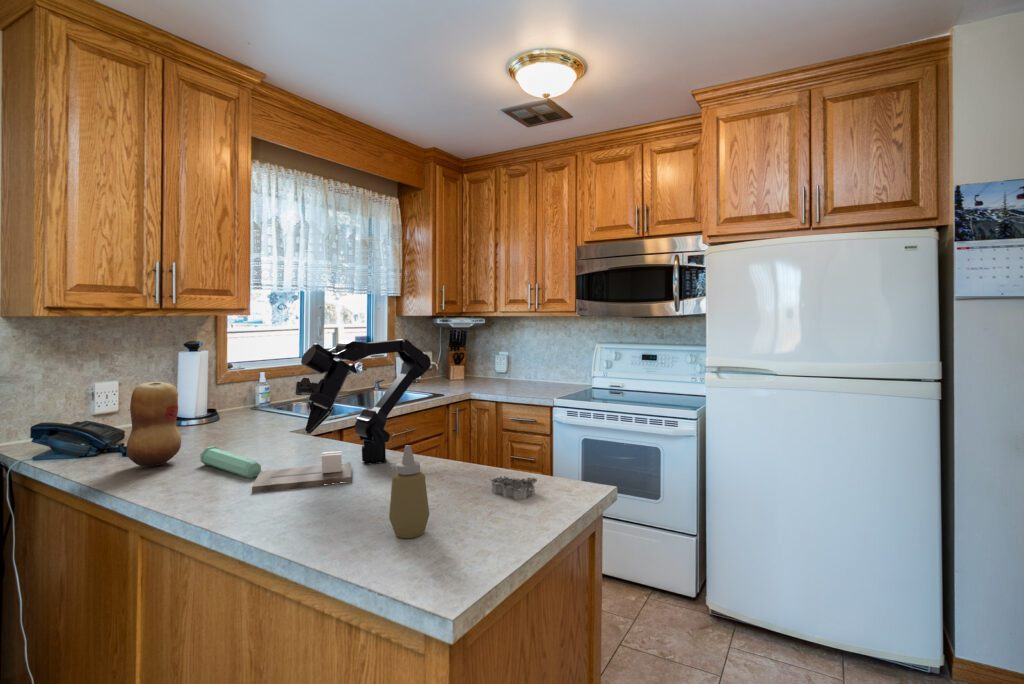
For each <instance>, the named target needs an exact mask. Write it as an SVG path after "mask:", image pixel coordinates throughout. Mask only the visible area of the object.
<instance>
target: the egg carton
mask: <svg viewBox="0 0 1024 684" xmlns="http://www.w3.org/2000/svg"><path fill="white" fill-rule="evenodd" d="M537 480H538V479H537V478H534V477H527V478H526V479H525V478H521V479H520V478H514V477H512V478H509V476H506V475H504V476H503V477H502V475H500V476H499V477H494V478H493V479H492V478H491V479H490V478H489V481H490V482H491V487H492V489H491V491H492V494H493V495H497V494H499V495H500V494H502V496H503V497H504V498H508V497H512V498H513V500H516V501H518V500H522V501H523V500H526V499H527V496H529V497H532V496H535V495H536V493H535V492H536V491H535V485H534V484H536V482H537Z"/></svg>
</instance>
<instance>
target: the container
mask: <svg viewBox="0 0 1024 684" xmlns="http://www.w3.org/2000/svg"><path fill="white" fill-rule="evenodd" d="M199 454H200V456H199V457H200V462H201V463H202V464H203V465H205V466H211V467H213V468H217V469H219V470H223V471H226V472H228V473H232V474H235V475H238V476H241V477H245V478H247V479H253V478H257V477H258V475H259V473H260V471H262V465H261V463H259V462H258V461H257V460H255V459H251V458H248V457H245V456H242V455H239V454H235V453H233V452H230V451H229V452H228V451H225V450H222V449H219V448H217V446H214V445H212V446H207V447H205V448H204V449H203V450H202V451H201V453H199ZM252 477H253V478H252Z"/></svg>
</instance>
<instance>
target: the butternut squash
mask: <svg viewBox="0 0 1024 684" xmlns="http://www.w3.org/2000/svg"><path fill="white" fill-rule="evenodd" d="M129 407H130V408H129V410H130V418H131V431H130V434H129V437H128V439H127V442H126V443H127V444H126V455H127V458H128V459H129V460H131V462H133V464H136V465H137V466H139V467H144V466H150V467H157V466H161V465H165V464H166V463H167V462H168V461H170V460H172V458H174V457H175V456H176V455H177V454H178V453H179V451H180V449H181V447H182V436H181V434H180V431H179V429H178V427H177V417H178V413H179V393H178V389H177V387H176V385H173V384H171V383H170V382H162V381H152V382H151V381H150V382H143V383H140V384H138V385H136V386H135V388H134V389H133V390H132V393H131V397H130V405H129Z"/></svg>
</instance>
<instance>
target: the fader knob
mask: <svg viewBox="0 0 1024 684" xmlns="http://www.w3.org/2000/svg"><path fill="white" fill-rule="evenodd" d="M342 464H343V463H342V450H336V451H326V452H324V451H323V452H322V453H321V466H322V473H331V472H341V471H342Z"/></svg>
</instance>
